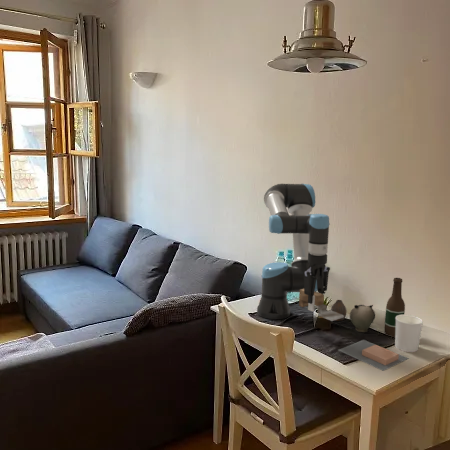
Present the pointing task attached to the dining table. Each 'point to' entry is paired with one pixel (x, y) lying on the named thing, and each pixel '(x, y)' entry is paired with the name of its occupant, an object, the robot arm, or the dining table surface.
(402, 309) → the beer bottle
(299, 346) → the dining table surface
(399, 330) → the white cup
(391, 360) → the tan rectangular bar
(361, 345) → the mat
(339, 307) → the vase
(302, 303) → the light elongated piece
